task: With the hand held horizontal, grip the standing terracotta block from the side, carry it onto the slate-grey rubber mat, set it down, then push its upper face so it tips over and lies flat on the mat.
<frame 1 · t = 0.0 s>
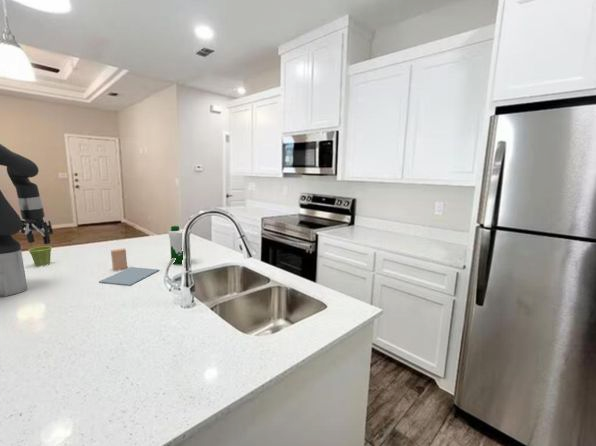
hand: (39, 243, 133), 17 cm above the worktop, tool pointing down, fingers open, 8 cm apart
mat: (130, 276, 142), on the worktop
milk carton: (180, 263, 163), on the worktop
terracotta block: (120, 268, 152), on the worktop
plant pot: (42, 264, 156), on the worktop
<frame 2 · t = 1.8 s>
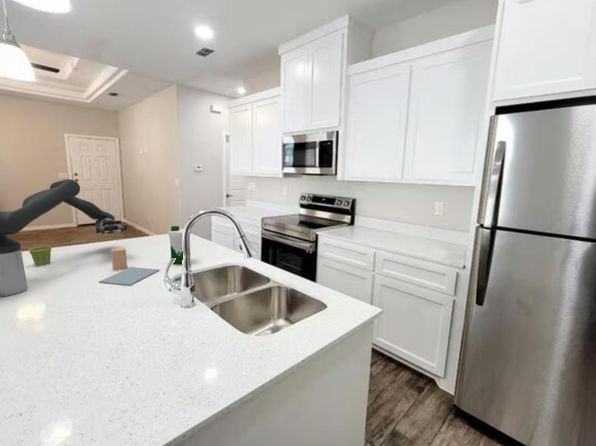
hand: (113, 230, 157), 18 cm above the worktop, tool horizontal, fingers open, 8 cm apart
nothing on the worktop moved.
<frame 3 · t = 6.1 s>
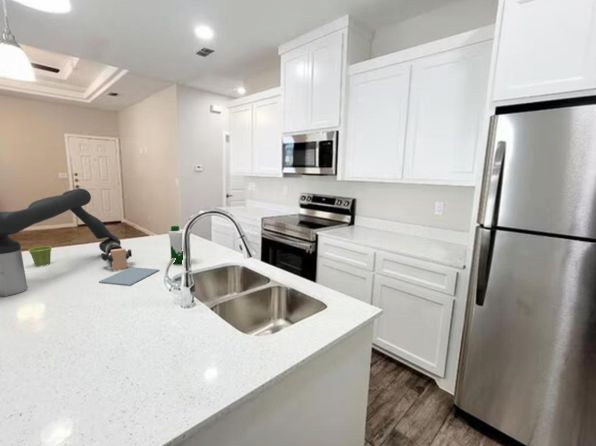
hand: (119, 258, 149), 6 cm above the worktop, tool horizontal, fingers closed on terracotta block, 6 cm apart
terracotta block: (120, 268, 152), on the worktop, touching gripper
everything else where it was.
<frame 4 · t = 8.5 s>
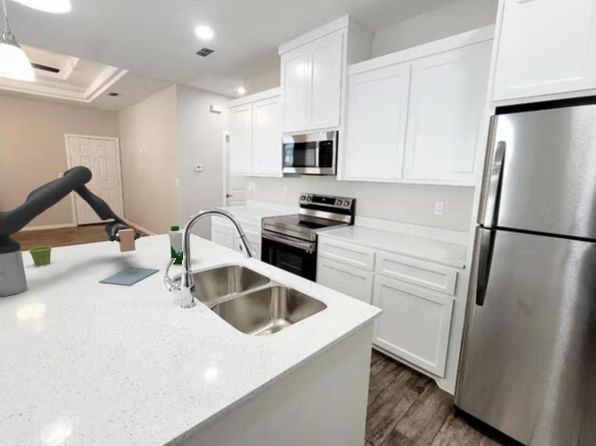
hand: (127, 239, 140), 18 cm above the worktop, tool horizontal, fingers closed on terracotta block, 6 cm apart
terracotta block: (127, 250, 143), point 12 cm above the worktop, touching gripper
everything else where it was.
when the fingers open (7 cm above the worktop, at t = 10.9 s): terracotta block stays where it is, resting on mat.
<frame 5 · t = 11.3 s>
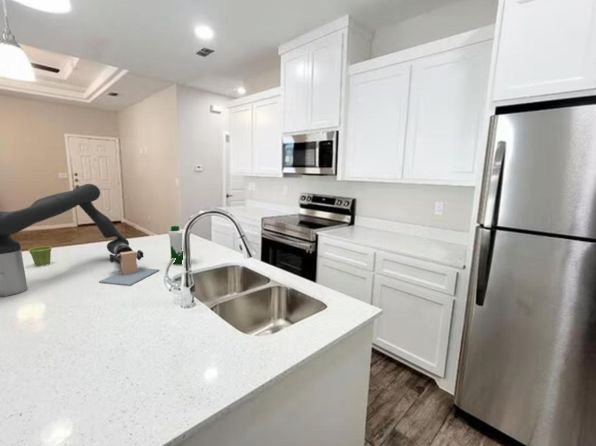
hand: (129, 259, 142), 8 cm above the worktop, tool horizontal, fingers open, 8 cm apart
terracotta block: (129, 272, 145), point 1 cm above the worktop, touching mat
everything else where it was.
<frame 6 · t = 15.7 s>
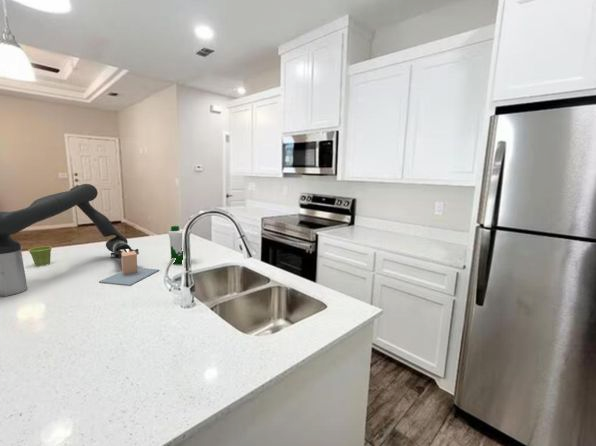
hand: (128, 257, 144), 8 cm above the worktop, tool horizontal, fingers closed
terracotta block: (129, 271, 145), point 1 cm above the worktop, tilted 13°, touching gripper, mat
everything else where it was.
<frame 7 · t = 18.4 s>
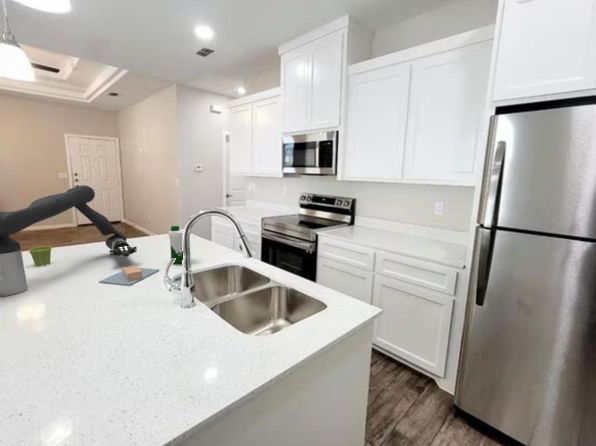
hand: (126, 254, 148), 8 cm above the worktop, tool horizontal, fingers closed
terracotta block: (130, 270, 143), point 2 cm above the worktop, tilted 90°, touching mat
everything else where it was.
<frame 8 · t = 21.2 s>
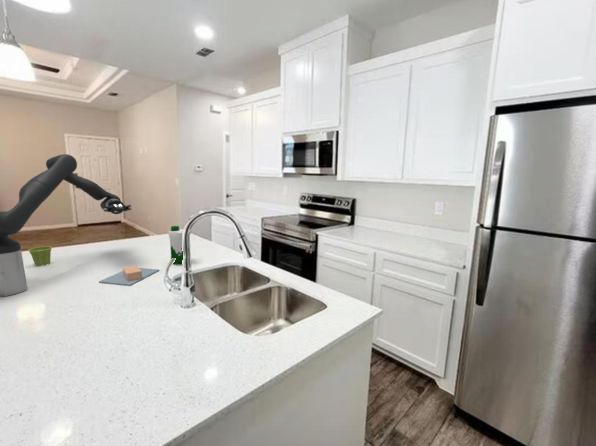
hand: (120, 210, 147), 30 cm above the worktop, tool horizontal, fingers closed
nothing on the worktop moved.
at the end: terracotta block tilted 90°; terracotta block inside the target area on the mat (2.5 cm from its centre), point 2.3 cm above the mat's base; the gripper is holding nothing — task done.
